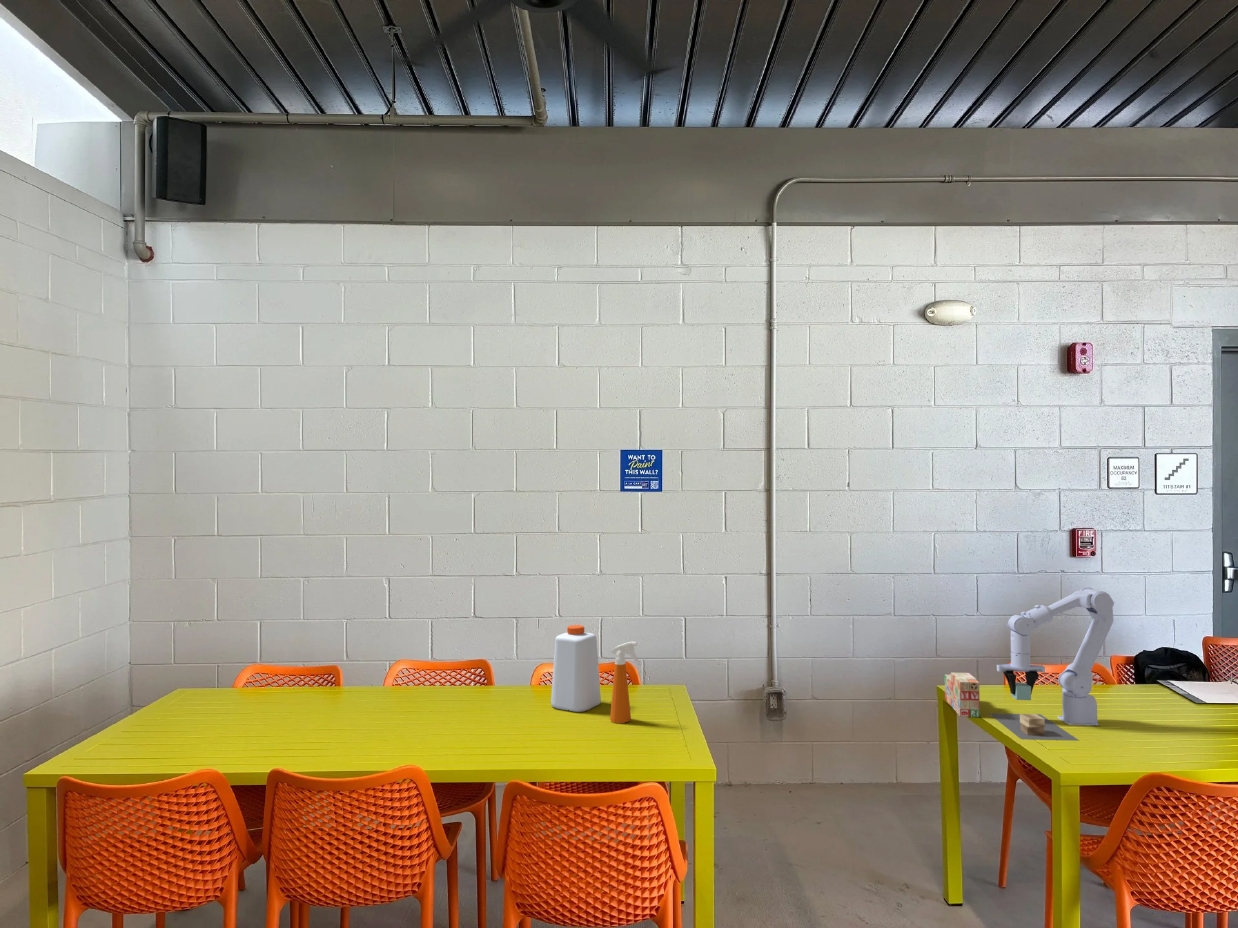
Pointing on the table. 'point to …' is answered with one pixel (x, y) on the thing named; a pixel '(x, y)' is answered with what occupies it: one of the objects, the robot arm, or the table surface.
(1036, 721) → the oak slab
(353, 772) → the table surface
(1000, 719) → the rubber mat
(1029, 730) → the walnut slab
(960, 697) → the stack of blocks
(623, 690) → the spray bottle
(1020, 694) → the teal cube
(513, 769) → the table surface
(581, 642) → the plastic bottle
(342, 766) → the table surface
